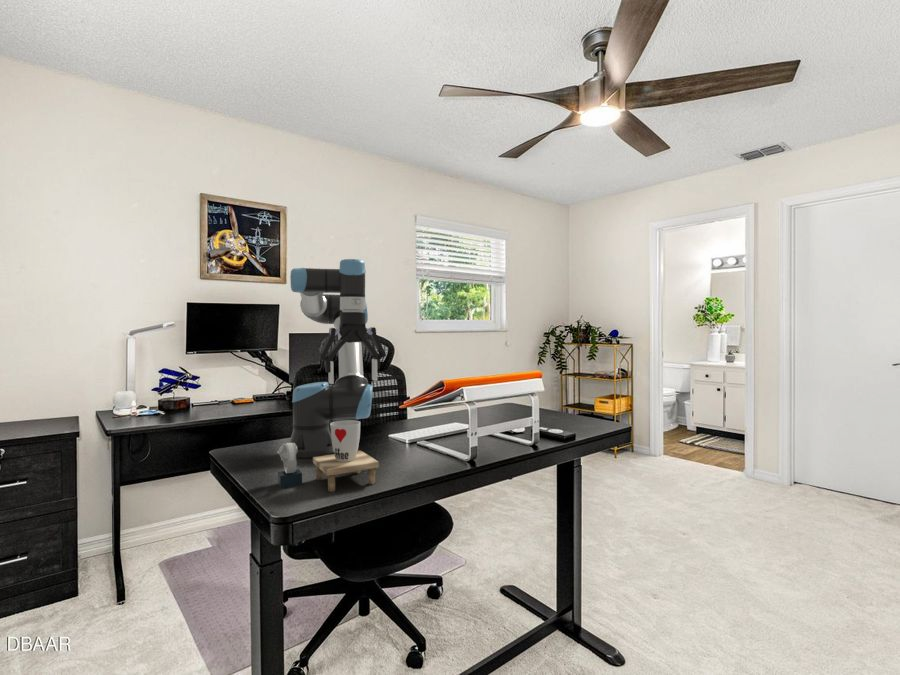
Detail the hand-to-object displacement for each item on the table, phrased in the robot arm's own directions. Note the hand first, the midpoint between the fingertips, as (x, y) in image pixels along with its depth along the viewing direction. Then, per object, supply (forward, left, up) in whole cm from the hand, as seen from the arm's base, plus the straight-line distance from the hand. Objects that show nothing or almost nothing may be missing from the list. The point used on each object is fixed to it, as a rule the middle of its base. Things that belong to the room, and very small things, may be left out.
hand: (353, 382), depth 145 cm
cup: (+12, -7, -20) cm, 24 cm away
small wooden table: (+12, -7, -26) cm, 29 cm away
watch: (+6, -20, -26) cm, 34 cm away
